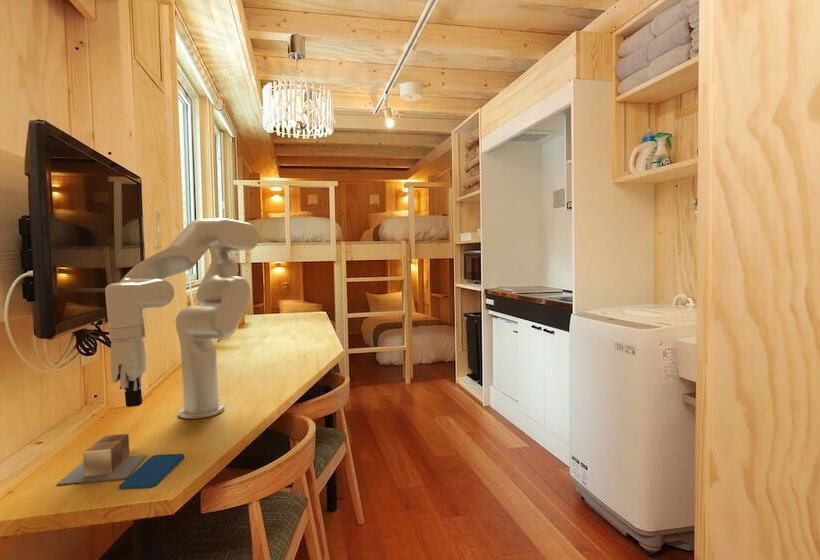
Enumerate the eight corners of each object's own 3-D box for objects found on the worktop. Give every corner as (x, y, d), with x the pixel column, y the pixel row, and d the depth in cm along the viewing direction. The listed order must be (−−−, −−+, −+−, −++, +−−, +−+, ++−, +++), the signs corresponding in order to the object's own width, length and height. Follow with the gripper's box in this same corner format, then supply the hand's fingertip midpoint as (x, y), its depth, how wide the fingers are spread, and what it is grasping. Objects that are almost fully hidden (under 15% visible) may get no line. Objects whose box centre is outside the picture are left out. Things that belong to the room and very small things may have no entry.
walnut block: (104, 435, 111) (83, 452, 101) (128, 433, 112) (109, 450, 102) (105, 457, 111) (84, 476, 101) (129, 455, 112) (110, 474, 102)
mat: (85, 461, 110) (85, 459, 110) (147, 455, 112) (147, 454, 112) (56, 485, 98) (56, 484, 98) (126, 479, 100) (126, 477, 100)
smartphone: (116, 487, 96) (152, 455, 111) (116, 492, 96) (153, 459, 111) (154, 486, 96) (185, 453, 111) (155, 490, 96) (185, 457, 111)
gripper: (123, 328, 126) (129, 397, 127) (96, 340, 111) (104, 418, 113) (154, 326, 127) (160, 394, 129) (132, 338, 112) (139, 414, 114)
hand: (134, 405), depth 121 cm, fingers closed
